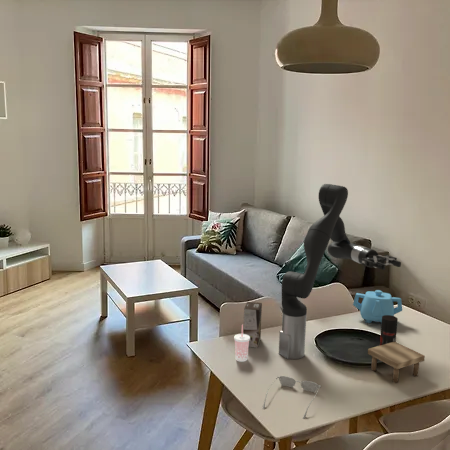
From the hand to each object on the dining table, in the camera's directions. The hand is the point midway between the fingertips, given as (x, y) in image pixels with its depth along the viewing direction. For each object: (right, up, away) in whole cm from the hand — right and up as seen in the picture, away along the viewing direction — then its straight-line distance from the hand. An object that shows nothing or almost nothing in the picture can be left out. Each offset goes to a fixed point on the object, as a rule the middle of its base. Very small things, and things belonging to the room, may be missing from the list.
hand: (392, 266), depth 213 cm
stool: (-5, -38, -17) cm, 42 cm away
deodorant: (-3, -35, -1) cm, 35 cm away
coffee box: (-56, -32, +7) cm, 65 cm away
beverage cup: (-61, -35, -8) cm, 71 cm away
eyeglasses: (-45, -42, -38) cm, 73 cm away
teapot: (+3, -28, +33) cm, 44 cm away
